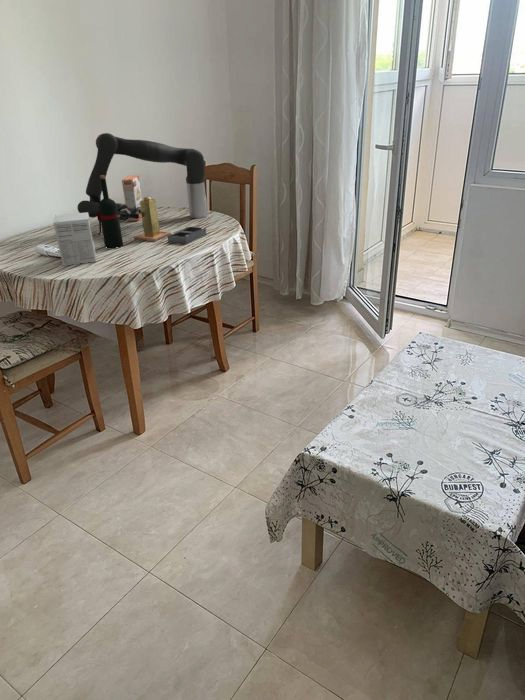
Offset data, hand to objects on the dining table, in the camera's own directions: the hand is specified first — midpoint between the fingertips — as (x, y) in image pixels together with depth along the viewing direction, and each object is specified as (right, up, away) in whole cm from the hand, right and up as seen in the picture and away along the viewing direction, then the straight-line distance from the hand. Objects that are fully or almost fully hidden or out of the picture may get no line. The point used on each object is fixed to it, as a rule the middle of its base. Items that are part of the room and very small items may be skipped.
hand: (144, 214), depth 237 cm
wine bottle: (-13, -16, -7) cm, 22 cm away
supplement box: (-21, -25, -23) cm, 40 cm away
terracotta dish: (+3, -10, +4) cm, 11 cm away
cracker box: (-13, +8, +38) cm, 41 cm away
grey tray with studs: (+20, -11, 0) cm, 23 cm away
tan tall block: (+3, -9, +4) cm, 10 cm away
